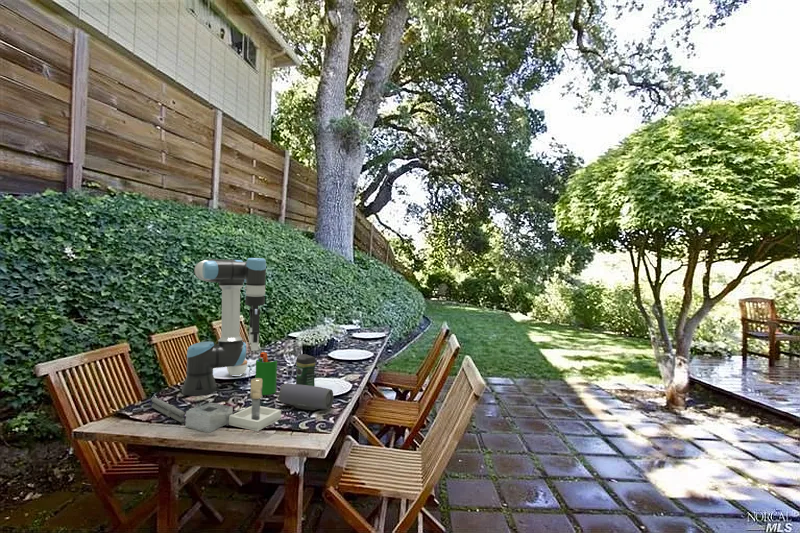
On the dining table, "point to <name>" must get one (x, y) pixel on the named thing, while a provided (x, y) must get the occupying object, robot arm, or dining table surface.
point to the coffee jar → (305, 370)
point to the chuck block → (208, 417)
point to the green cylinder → (267, 374)
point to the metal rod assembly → (168, 409)
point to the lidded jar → (237, 369)
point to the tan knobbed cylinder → (256, 397)
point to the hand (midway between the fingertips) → (253, 346)
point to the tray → (246, 422)
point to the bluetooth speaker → (306, 396)
